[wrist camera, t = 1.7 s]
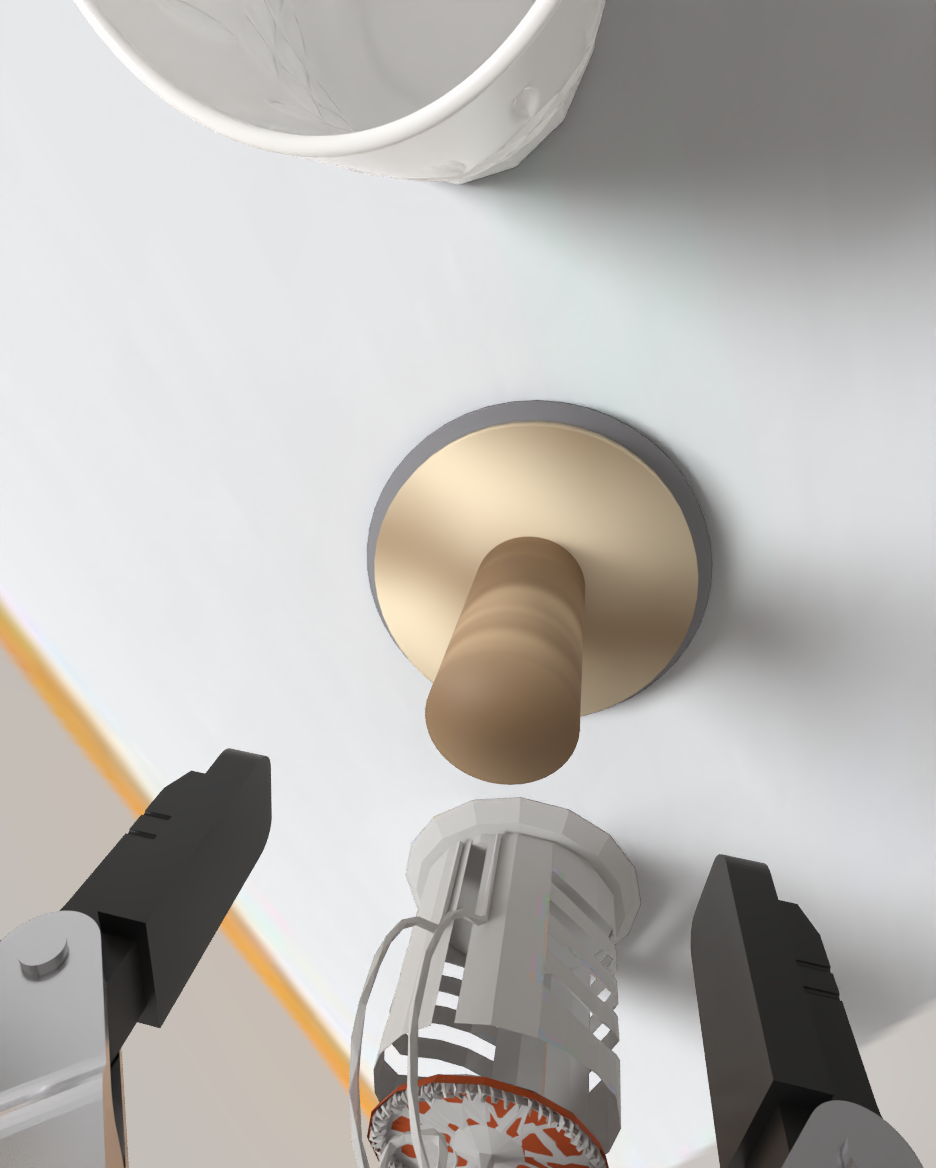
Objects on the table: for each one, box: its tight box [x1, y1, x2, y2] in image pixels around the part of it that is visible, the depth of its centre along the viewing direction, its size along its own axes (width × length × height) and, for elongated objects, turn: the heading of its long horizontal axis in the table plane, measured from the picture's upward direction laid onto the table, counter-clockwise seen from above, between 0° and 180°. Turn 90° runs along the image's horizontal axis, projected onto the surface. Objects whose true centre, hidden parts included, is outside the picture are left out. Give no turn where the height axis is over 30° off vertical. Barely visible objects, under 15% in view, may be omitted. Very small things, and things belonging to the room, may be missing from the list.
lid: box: [374, 420, 698, 785], centre depth 18 cm, size 10×10×8 cm
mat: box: [367, 400, 712, 707], centre depth 22 cm, size 11×11×1 cm
